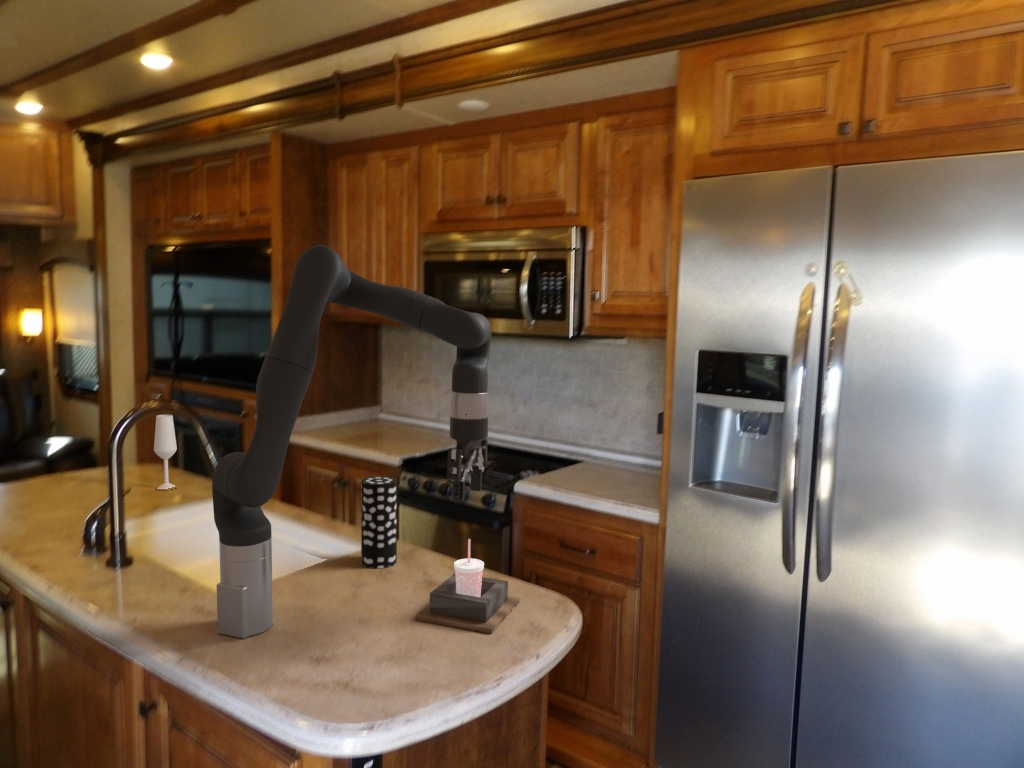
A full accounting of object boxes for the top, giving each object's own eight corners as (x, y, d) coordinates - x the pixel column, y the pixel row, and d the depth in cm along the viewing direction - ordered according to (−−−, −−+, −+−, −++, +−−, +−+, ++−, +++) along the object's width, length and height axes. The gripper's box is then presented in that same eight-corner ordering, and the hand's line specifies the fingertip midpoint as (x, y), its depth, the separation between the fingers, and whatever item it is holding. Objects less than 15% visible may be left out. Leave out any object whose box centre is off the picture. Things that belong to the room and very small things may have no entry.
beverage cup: (449, 602, 149) (450, 536, 148) (478, 598, 151) (479, 533, 150) (458, 614, 143) (458, 545, 142) (487, 610, 146) (488, 542, 144)
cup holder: (491, 634, 137) (492, 608, 137) (415, 619, 143) (416, 595, 142) (520, 602, 152) (520, 579, 152) (450, 590, 158) (450, 568, 157)
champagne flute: (155, 491, 233) (153, 417, 230) (154, 487, 239) (152, 414, 236) (178, 489, 236) (176, 416, 234) (177, 485, 242) (175, 413, 239)
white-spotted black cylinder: (362, 569, 169) (362, 485, 167) (360, 557, 177) (360, 477, 175) (398, 567, 171) (398, 483, 169) (394, 555, 179) (394, 475, 177)
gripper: (471, 420, 135) (470, 506, 137) (500, 411, 148) (498, 489, 150) (435, 417, 138) (434, 501, 139) (466, 408, 151) (465, 485, 153)
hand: (467, 495), depth 145 cm, fingers open, 8 cm apart
